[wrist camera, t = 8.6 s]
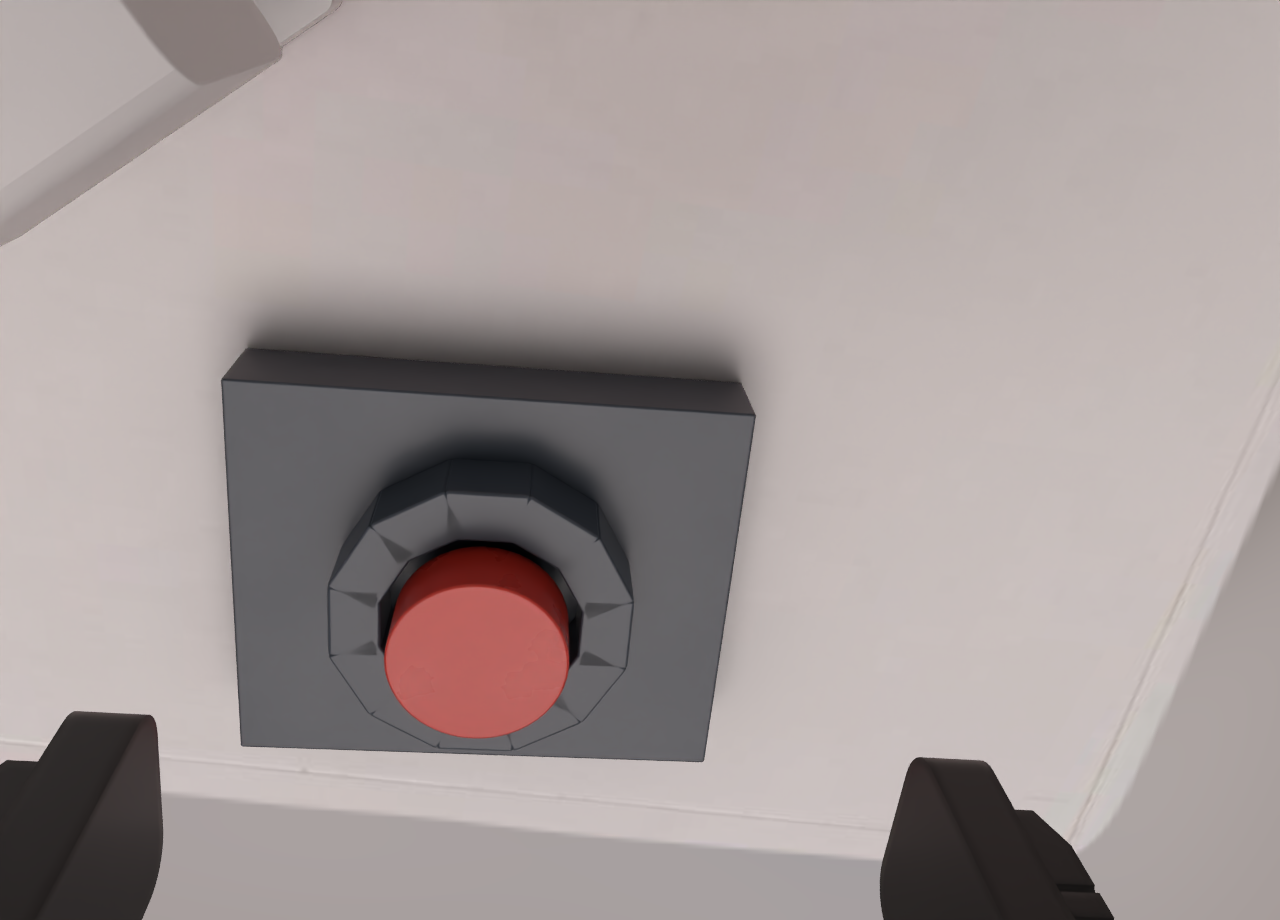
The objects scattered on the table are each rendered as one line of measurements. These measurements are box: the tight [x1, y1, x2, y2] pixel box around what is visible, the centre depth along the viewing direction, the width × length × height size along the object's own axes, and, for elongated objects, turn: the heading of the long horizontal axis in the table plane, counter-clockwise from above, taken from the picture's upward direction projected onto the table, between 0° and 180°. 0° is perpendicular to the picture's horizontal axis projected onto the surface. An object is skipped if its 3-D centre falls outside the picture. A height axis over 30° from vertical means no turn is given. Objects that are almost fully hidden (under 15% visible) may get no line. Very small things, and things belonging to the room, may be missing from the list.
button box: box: [221, 348, 756, 762], centre depth 27 cm, size 12×10×4 cm
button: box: [384, 547, 569, 738], centre depth 25 cm, size 4×4×2 cm
